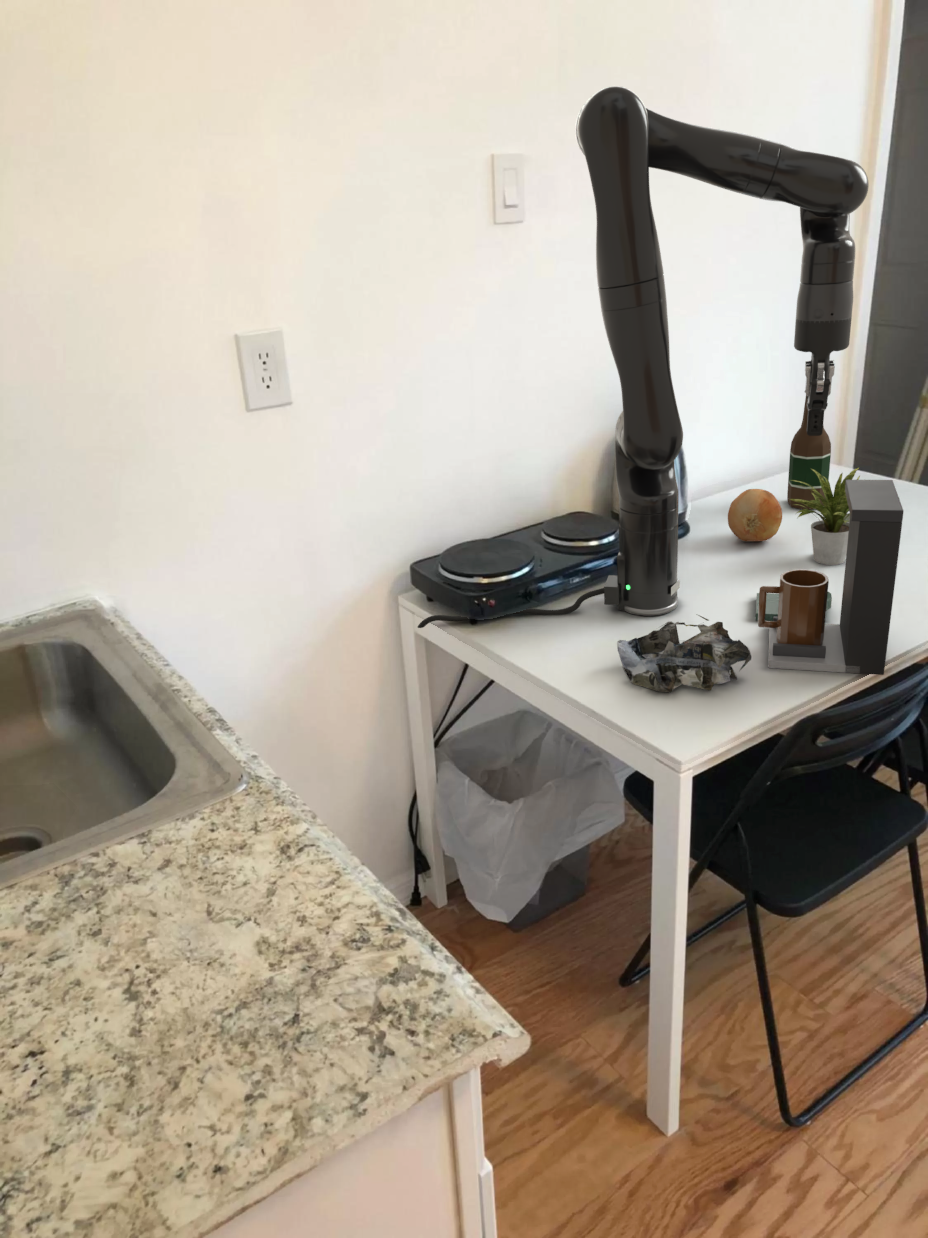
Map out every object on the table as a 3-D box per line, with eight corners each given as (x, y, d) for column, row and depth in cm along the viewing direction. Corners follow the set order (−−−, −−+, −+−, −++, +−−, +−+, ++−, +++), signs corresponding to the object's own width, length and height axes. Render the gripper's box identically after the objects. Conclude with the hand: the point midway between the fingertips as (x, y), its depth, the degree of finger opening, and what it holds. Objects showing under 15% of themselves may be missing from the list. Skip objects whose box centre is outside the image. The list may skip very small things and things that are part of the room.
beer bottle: (778, 502, 194) (785, 386, 184) (810, 496, 196) (819, 380, 186) (801, 512, 187) (810, 392, 177) (834, 506, 189) (845, 386, 179)
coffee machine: (768, 668, 131) (778, 508, 122) (768, 628, 143) (777, 479, 133) (883, 675, 127) (903, 510, 117) (875, 633, 138) (892, 479, 128)
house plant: (806, 537, 175) (813, 452, 168) (883, 550, 166) (893, 461, 159) (774, 562, 165) (779, 473, 158) (853, 577, 157) (862, 483, 150)
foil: (664, 624, 139) (732, 598, 126) (689, 692, 138) (760, 673, 125) (603, 644, 134) (668, 619, 121) (629, 715, 133) (697, 698, 120)
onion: (728, 550, 172) (730, 498, 168) (724, 532, 181) (726, 482, 177) (783, 550, 170) (787, 497, 166) (777, 531, 179) (780, 481, 175)
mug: (821, 632, 137) (827, 570, 133) (823, 652, 132) (829, 587, 127) (757, 629, 140) (760, 567, 136) (756, 649, 134) (760, 585, 130)
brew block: (755, 620, 145) (756, 602, 144) (756, 599, 152) (757, 582, 151) (831, 624, 142) (832, 606, 141) (828, 602, 149) (830, 585, 148)
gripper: (855, 320, 126) (843, 445, 134) (849, 307, 138) (838, 423, 145) (796, 322, 129) (788, 446, 136) (795, 309, 140) (787, 423, 147)
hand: (814, 434), depth 140 cm, fingers closed
